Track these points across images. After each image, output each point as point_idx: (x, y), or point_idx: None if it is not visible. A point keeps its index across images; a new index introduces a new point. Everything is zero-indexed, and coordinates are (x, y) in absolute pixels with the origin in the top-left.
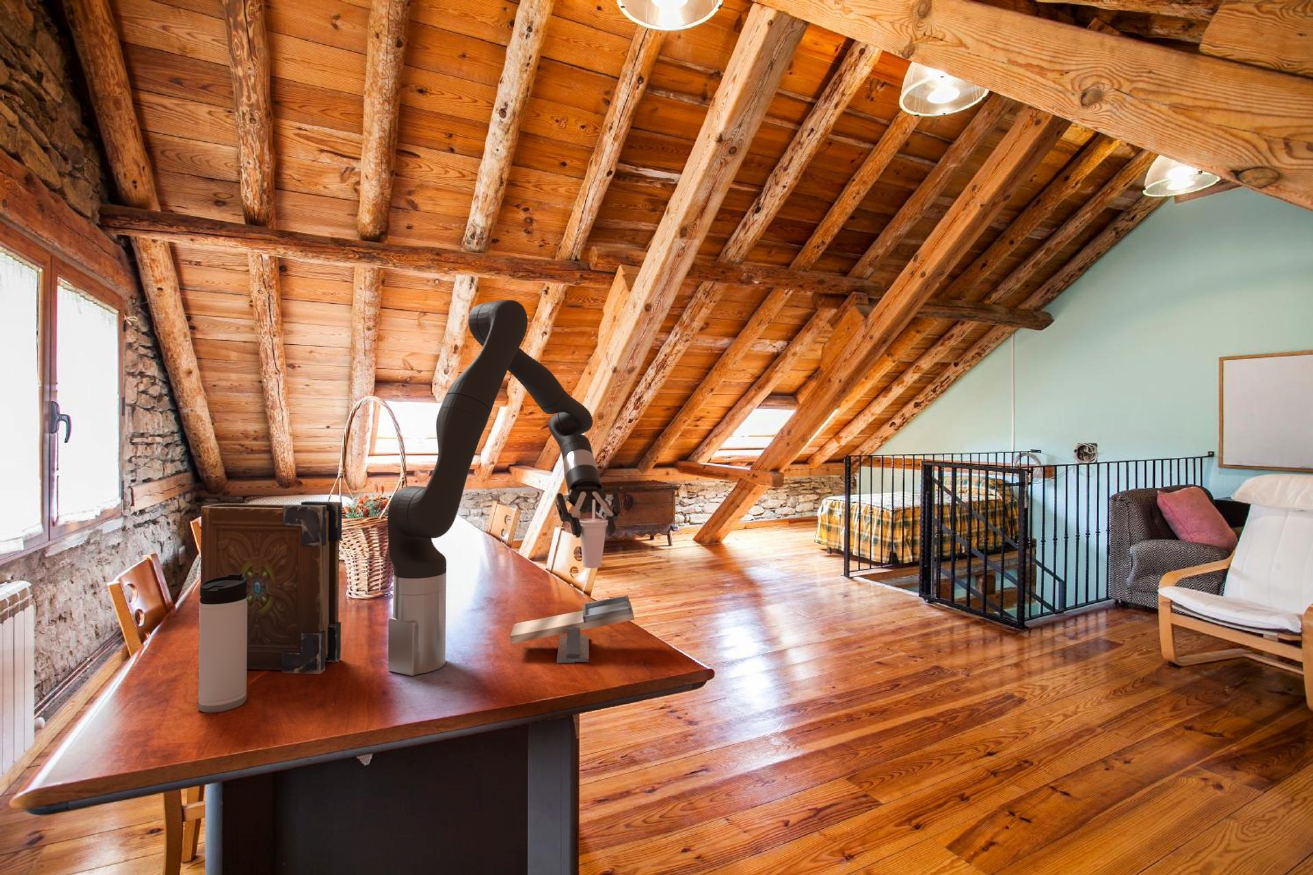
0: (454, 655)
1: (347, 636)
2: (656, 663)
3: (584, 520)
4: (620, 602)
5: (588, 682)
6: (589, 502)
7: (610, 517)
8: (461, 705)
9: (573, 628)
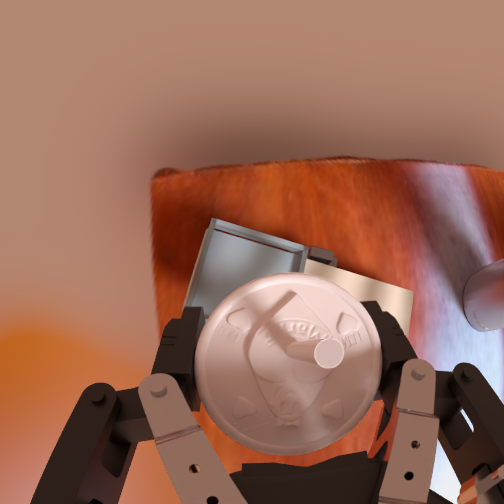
0: (455, 331)
1: None
2: (193, 215)
3: (343, 381)
4: (204, 315)
5: (304, 183)
6: (315, 498)
7: (168, 371)
8: (430, 178)
9: (322, 253)
